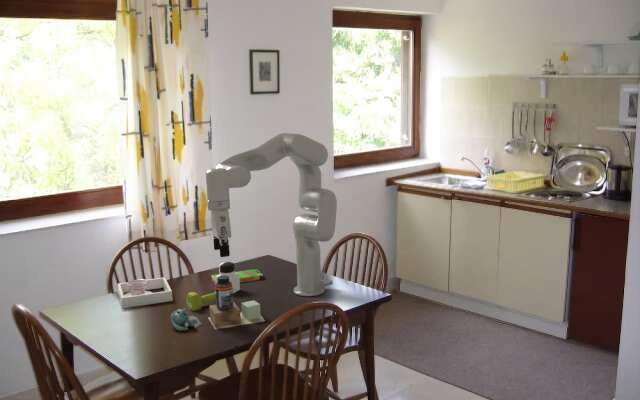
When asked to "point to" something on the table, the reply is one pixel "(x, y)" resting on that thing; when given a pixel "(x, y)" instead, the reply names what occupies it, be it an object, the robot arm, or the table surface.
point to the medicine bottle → (228, 270)
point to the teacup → (137, 287)
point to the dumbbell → (198, 300)
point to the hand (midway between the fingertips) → (221, 252)
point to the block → (251, 310)
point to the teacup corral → (146, 298)
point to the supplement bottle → (224, 293)
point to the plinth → (229, 317)
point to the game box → (245, 275)
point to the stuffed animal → (183, 320)
